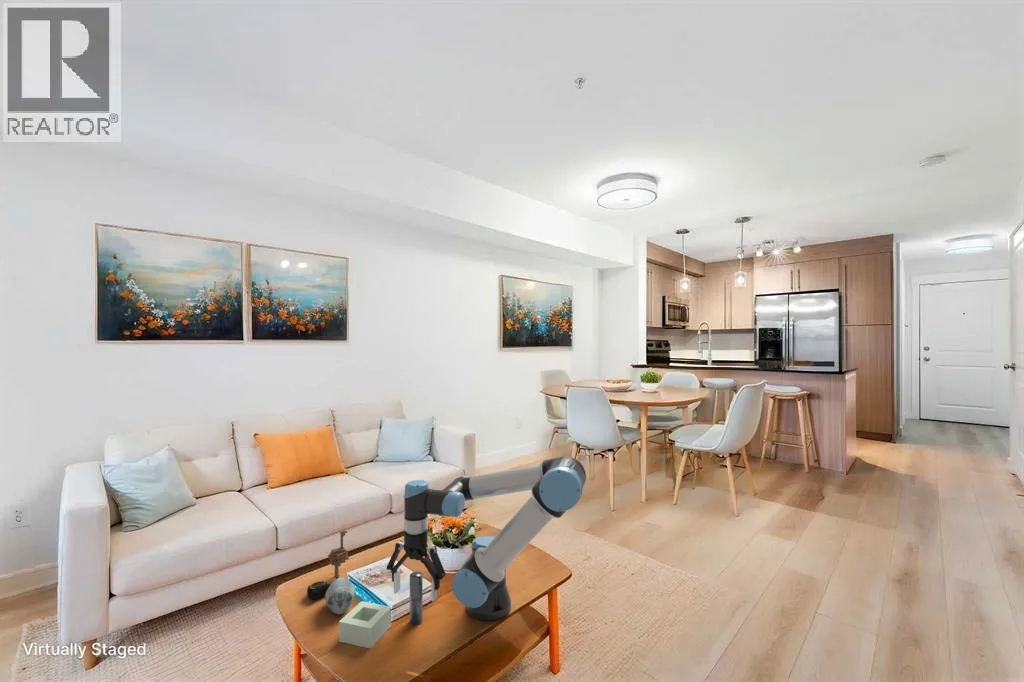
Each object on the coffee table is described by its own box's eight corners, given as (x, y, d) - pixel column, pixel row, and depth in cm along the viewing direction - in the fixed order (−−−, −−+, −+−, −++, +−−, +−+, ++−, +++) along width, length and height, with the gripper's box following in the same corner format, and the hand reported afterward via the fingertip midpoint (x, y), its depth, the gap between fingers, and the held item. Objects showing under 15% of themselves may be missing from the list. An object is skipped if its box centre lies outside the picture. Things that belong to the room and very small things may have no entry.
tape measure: (314, 602, 152) (313, 591, 153) (303, 597, 156) (303, 586, 157) (332, 593, 158) (331, 583, 158) (321, 589, 162) (321, 578, 162)
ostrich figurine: (346, 572, 173) (346, 527, 173) (349, 580, 168) (349, 533, 168) (298, 585, 165) (298, 536, 165) (300, 594, 159) (300, 544, 159)
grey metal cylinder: (424, 618, 145) (424, 572, 145) (418, 625, 141) (418, 578, 141) (413, 616, 146) (413, 570, 146) (407, 623, 142) (407, 576, 142)
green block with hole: (391, 625, 141) (391, 606, 141) (370, 648, 130) (370, 628, 130) (361, 619, 144) (361, 601, 144) (339, 641, 134) (339, 621, 134)
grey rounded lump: (355, 612, 144) (355, 578, 148) (323, 618, 141) (324, 583, 144) (354, 605, 156) (354, 574, 160) (325, 611, 153) (326, 579, 156)
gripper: (456, 530, 143) (455, 595, 143) (388, 520, 151) (388, 582, 151) (445, 540, 136) (445, 608, 136) (375, 529, 144) (375, 594, 144)
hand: (415, 595), depth 143 cm, fingers open, 13 cm apart
